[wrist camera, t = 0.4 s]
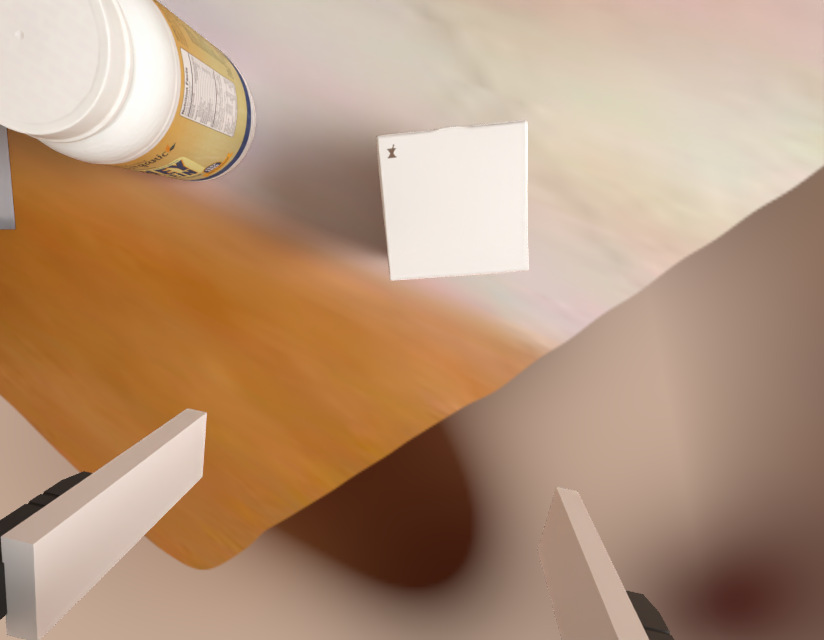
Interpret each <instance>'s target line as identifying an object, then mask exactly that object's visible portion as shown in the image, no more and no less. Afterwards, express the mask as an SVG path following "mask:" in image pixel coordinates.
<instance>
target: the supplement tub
mask: <svg viewBox="0 0 824 640" xmlns="http://www.w3.org/2000/svg"><path fill="white" fill-rule="evenodd" d="M0 125H2V126H4V127H6V128H9V129H11V130H14V131H17V132H20V133H24V134H26V135H29V136H31V137H33V138H36V139H38V140H39V141H40V142H42V143H43V144H45V145H46V146H48V147H50V148H51V149H53V150H55V151H57V152H59V153H61V154H64V155H66V156H69V157H71V158H74V159H77V160H80V161H84V162H88V163H94V164H103V165H109V166H114V167H119V168H125V169H130V170H135V171H141V172H146V173H150V174H156V175H161V176H166V177H171V178H176V179H180V180H185V181H191V182H202V181H208V180H212V179H216V178H218V177H221V176H223V175H225V174H227V173H228V172H230V171H231V170H232V169H234V168H235V167H236V166H237V165H238V164H239V163H240V162H241V161H242V160H243V158H244V157H245V155H246V154H247V152H248V150H249V148H250V146H251V144H252V141H253V138H254V134H255V129H256V113H255V106H254V101H253V98H252V94H251V92H250V89H249V87H248V85H247V83H246V81H245V79H244V77H243V76H242V74H241V72H240V71H239V69H238V68H237V66H236V65H235V64H234V63H233V62H232V60H231V59H230V58H229V57H228V56H226V55H225V54H224V53H223V52H222V51H220V50H219V49H217V48H216V47H215V46H213V45H212V44H211V43H210V42H208V41H207V40H206V39H205V38H203V37H202V36H201V35H200V34H198V33H197V32H196V31H194V30H193V29H192V28H191V27H189V26H188V25H187V24H186V23H184V22H183V21H182V20H181V19H179V18H178V17H177V16H175V15H174V14H173V13H172V12H170V11H169V10H168V9H167V8H165V7H164V6H163V5H162V4H160V3H159V2H158V1H156V0H0Z"/></svg>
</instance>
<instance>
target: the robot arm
mask: <svg viewBox="0 0 824 640" xmlns="http://www.w3.org/2000/svg"><path fill="white" fill-rule="evenodd" d="M206 417H207V413H206V412H202V411H197V410H192V409H188V408H187V409H186V410H184V411H183V412H181V413H180V414H178V415H177V416H176V417H174V418H173V419H171V420H170V421H168V422H167V423H165V424H164V425H162V426H161V427H160V428H158V429H157V430H155V431H154V432H152V433H151V434H149V435H148V436H146V437H145V438H144V439H142V440H141V441H139V442H138V443H136V444H135V445H133V446H132V447H130V448H129V449H128V450H126V451H125V452H123V453H122V454H120V455H119V456H117V457H116V458H114V459H113V460H112V461H110V462H109V463H107V464H106V465H104V466H103V467H101V468H100V469H98V470H97V471H96V472H94V473H89V472H81V473H79V474H76V475H74V476H71V477H69V478H66V479H64V480H61V481H60V482H58V483H57V484H55V485H54V486H53V487H51V488H49V489H48V490H46V491H45V492H44V493H43V494H40V495H38V496H37V497H35V498H34V499H32V500H31V501H29V503H28V504H24V505H23V506H21V507H20V508H18V509H17V510H15V511H14V512H12V513H11V514H9V515H8V516H6V517H5V518H3V519H1V520H0V619H2V618H3V617H4V616H5V615H6V628H7V635H9V636H14V637H18V638H22V639H26V640H40V639H41V638H42V637H43V636H44V635H45V634H46V633H47V632H48V631H49V630H50V629H51V628H52V627H53V626H54V625H55V624H56V623H57V622H58V621H59V620H60V619H61V618H62V617H63V616H64V615H65V614H66V613H67V612H68V611H69V610H70V609H71V608H72V607H73V606H74V605H75V604H76V603H77V602H78V601H79V600H80V599H81V598H82V597H83V596H84V595H85V594H86V593H87V592H88V591H89V590H90V589H91V588H92V587H93V586H94V585H95V584H96V583H97V582H98V581H99V580H100V579H101V578H102V577H103V576H104V575H105V574H106V573H107V572H108V571H109V570H110V569H111V568H112V567H113V566H114V565H115V564H116V563H117V562H118V561H119V560H120V559H121V558H122V557H123V556H124V555H125V554H126V553H127V552H128V551H129V550H130V549H131V548H132V547H133V546H134V545H135V544H136V543H137V542H138V541H139V540H140V539H141V538H142V537H143V536H144V535H145V534H146V533H147V532H148V531H149V530H150V529H151V528H152V527H153V526H154V525H155V524H156V523H157V522H158V521H159V520H160V519H161V518H162V517H163V516H164V515H165V514H166V513H167V512H168V511H169V510H170V509H171V508H172V507H173V506H174V505H175V504H176V503H177V502H178V501H179V500H180V499H181V498H182V497H183V496H184V495H185V494H186V493H187V492H188V491H189V490H190V489H191V488H192V487H193V486H194V485H195V484H196V483H197V482H198V481H199V480H200V479H201V478H202V475H203V460H204V446H205V431H206ZM538 554H539V558H540V562H541V565H542V569H543V573H544V576H545V580H546V584H547V588H548V591H549V595H550V598H551V603H552V606H553V610H554V614H555V617H556V621H557V625H558V628H559V632H560V636H561V640H674V639H673V637H672V636H671V635H670V633H669V632H670V631H669V630H668V628H667V626H666V624H665V622H664V621H663V619H662V617H661V615H660V613H659V612H658V611H657V609H656V608H655V607H654V606H653V605H652V604H651V603H650V602H649V601H648V599H647V598H646V597H645V596H644V595H643V594H639V593H634V592H630V591H625V589H624V587H623V584H622V582H621V580H620V578H619V576H618V574H617V572H616V570H615V568H614V566H613V564H612V562H611V559H610V557H609V555H608V553H607V551H606V549H605V547H604V545H603V543H602V541H601V539H600V537H599V535H598V532H597V531H596V529H595V526H594V524H593V522H592V520H591V518H590V516H589V514H588V512H587V510H586V508H585V506H584V503H583V502H582V499H581V497H580V495H579V493H578V491H575V490H570V489H565V488H560V487H556V489H555V493H554V496H553V499H552V503H551V506H550V510H549V513H548V516H547V520H546V523H545V526H544V530H543V533H542V537H541V540H540V543H539V547H538Z"/></svg>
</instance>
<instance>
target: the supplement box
mask: <svg viewBox="0 0 824 640" xmlns="http://www.w3.org/2000/svg"><path fill="white" fill-rule="evenodd" d="M376 146H377V158H378V169H379V179H380V189H381V199H382V208H383V218H384V227H385V235H386V245H387V255H388V264H389V275H390V280H408V279H423V278H438V277H452V276H467V275H481V274H494V273H507V272H519V271H528V270H529V266H528V226H527V180H528V124H527V121H526V120H517V121H508V122H499V123H489V124H479V125H470V126H453V127H445V128H441V129H433V130H424V131H414V132H405V133H395V134H386V135H379V136H377V137H376Z"/></svg>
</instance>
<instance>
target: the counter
mask: <svg viewBox="0 0 824 640" xmlns="http://www.w3.org/2000/svg"><path fill="white" fill-rule="evenodd" d="M0 229H15V218H14V206H13V195H12V184H11V172H10V161H9V149H8V138H7V128H6V127H4V126H2V125H0Z"/></svg>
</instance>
